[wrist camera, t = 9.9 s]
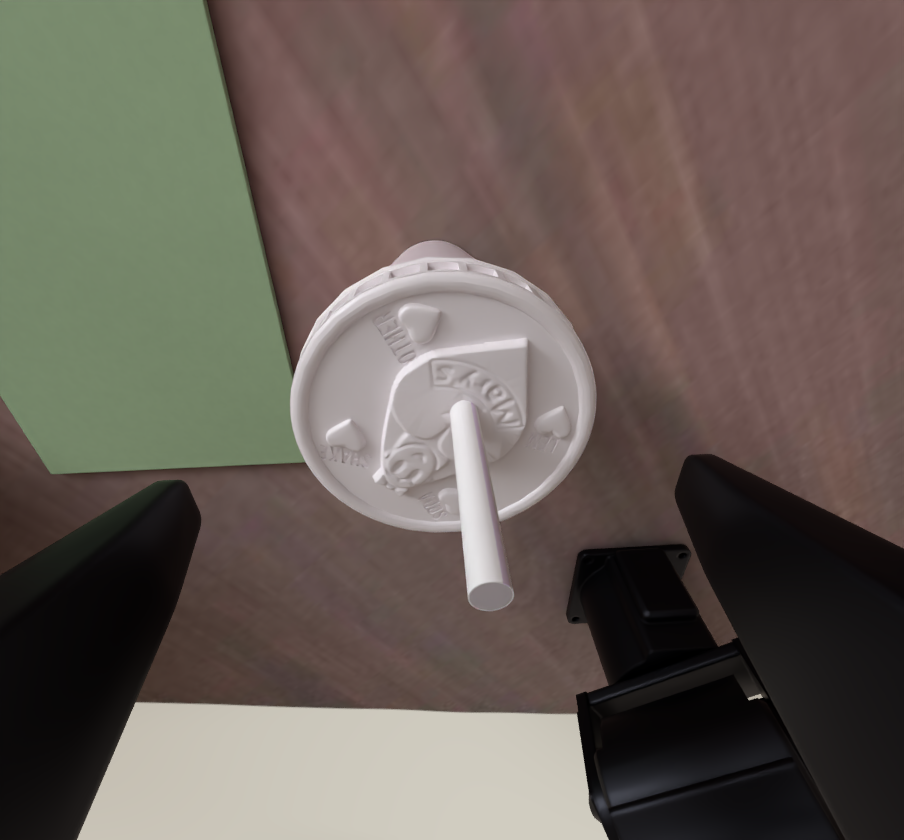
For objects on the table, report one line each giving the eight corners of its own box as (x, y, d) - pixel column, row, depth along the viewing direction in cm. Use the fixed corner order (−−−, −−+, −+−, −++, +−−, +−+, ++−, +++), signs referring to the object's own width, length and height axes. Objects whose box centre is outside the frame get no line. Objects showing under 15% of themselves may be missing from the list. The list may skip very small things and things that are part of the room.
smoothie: (550, 278, 17) (824, 581, 6) (446, 392, 20) (481, 771, 8) (419, 155, 15) (407, 231, 3) (319, 303, 17) (98, 658, 6)
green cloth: (313, 458, 21) (312, 462, 21) (55, 470, 21) (50, 474, 21) (140, -286, 10) (133, -296, 10) (-428, -291, 10) (-452, -303, 9)
